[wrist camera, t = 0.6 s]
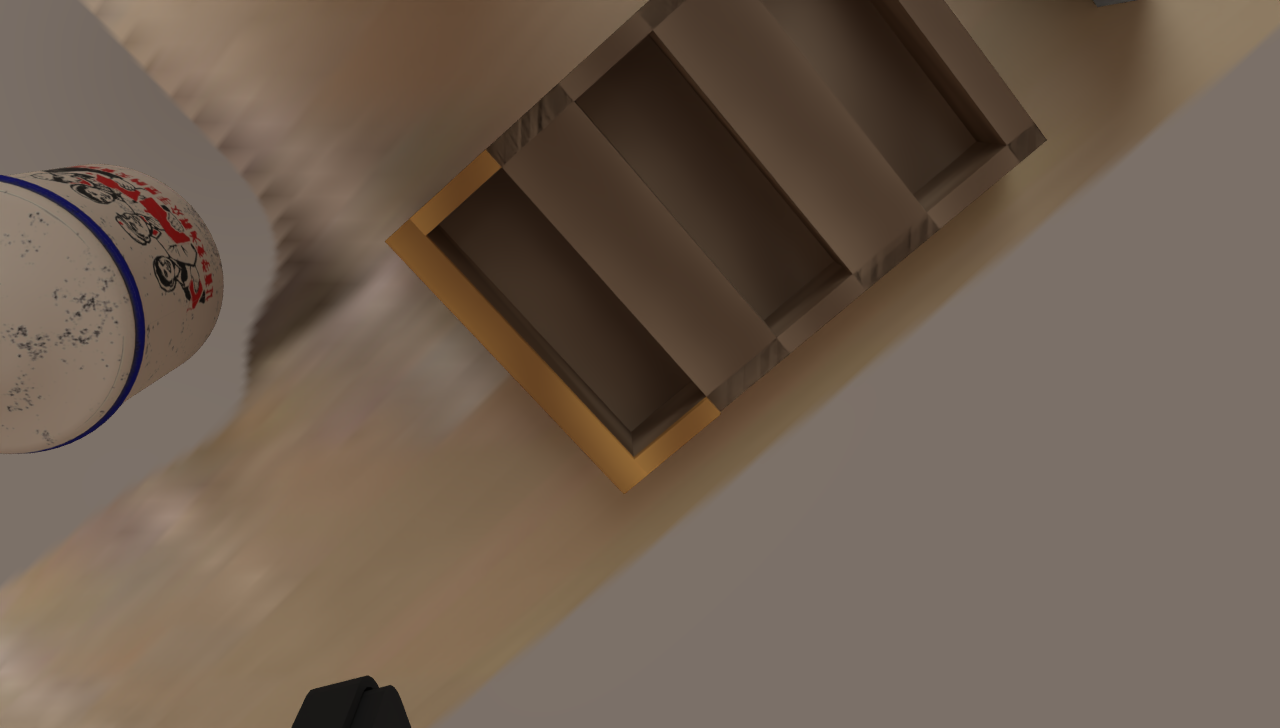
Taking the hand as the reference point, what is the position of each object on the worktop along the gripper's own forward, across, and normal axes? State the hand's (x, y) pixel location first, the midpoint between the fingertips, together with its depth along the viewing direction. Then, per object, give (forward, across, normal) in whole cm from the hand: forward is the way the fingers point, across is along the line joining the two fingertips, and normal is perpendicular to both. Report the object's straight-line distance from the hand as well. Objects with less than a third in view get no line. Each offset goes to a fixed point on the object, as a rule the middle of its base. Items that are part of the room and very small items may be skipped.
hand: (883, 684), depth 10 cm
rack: (+33, -2, -2) cm, 33 cm away
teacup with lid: (+33, +22, -5) cm, 40 cm away
